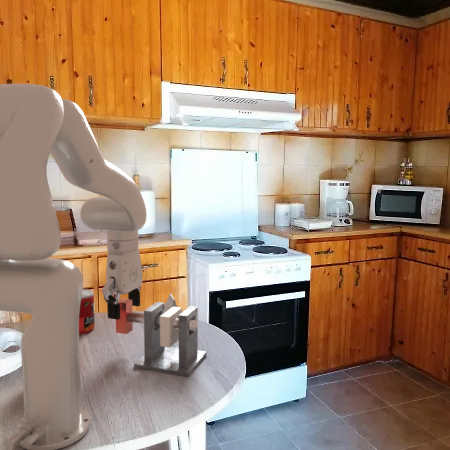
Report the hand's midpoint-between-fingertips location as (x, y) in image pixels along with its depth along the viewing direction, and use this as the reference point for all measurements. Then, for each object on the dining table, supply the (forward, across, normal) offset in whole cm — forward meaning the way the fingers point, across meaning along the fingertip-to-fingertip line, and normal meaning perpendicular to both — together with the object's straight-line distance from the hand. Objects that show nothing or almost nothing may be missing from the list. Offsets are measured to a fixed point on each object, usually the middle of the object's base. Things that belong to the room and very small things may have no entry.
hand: (124, 311), depth 108 cm
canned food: (+11, +9, +20) cm, 25 cm away
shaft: (+5, 0, -9) cm, 10 cm away
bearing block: (+11, -1, -13) cm, 17 cm away
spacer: (+2, 0, -13) cm, 13 cm away
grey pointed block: (+12, +18, -5) cm, 22 cm away
